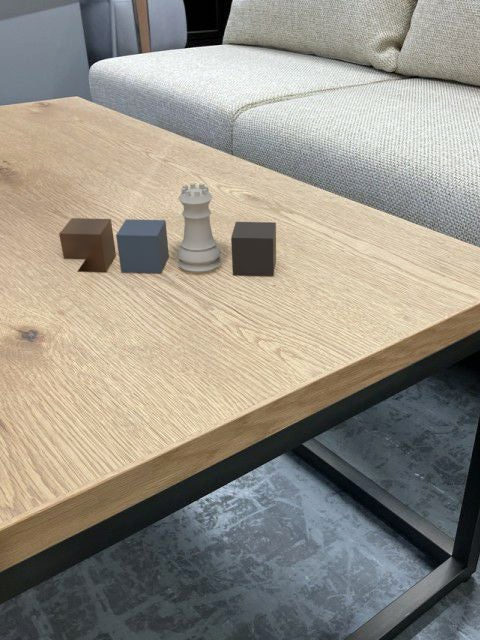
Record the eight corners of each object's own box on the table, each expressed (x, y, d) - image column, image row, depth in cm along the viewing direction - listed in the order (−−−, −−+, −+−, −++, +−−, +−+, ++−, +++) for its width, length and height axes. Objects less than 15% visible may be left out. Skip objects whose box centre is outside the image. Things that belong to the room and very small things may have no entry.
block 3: (232, 275, 68) (231, 237, 66) (237, 258, 71) (235, 221, 69) (273, 276, 68) (273, 238, 66) (276, 259, 71) (276, 222, 69)
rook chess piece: (179, 257, 72) (172, 180, 67) (222, 256, 72) (218, 179, 67) (176, 276, 68) (169, 196, 64) (222, 275, 68) (218, 195, 64)
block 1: (66, 271, 69) (58, 233, 67) (78, 254, 72) (71, 217, 70) (106, 272, 69) (100, 234, 66) (116, 255, 72) (111, 218, 70)
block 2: (121, 273, 69) (115, 234, 66) (130, 256, 72) (125, 219, 70) (161, 274, 68) (157, 235, 66) (169, 257, 72) (165, 219, 70)
